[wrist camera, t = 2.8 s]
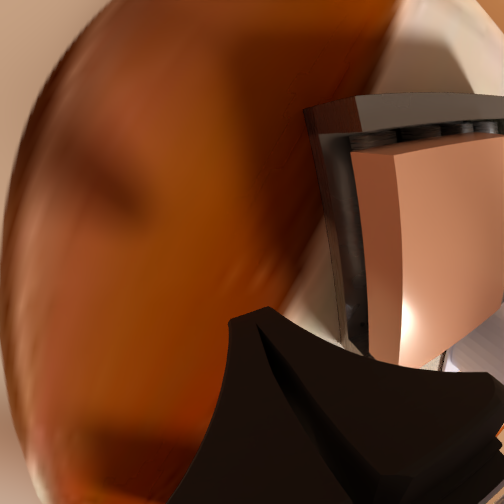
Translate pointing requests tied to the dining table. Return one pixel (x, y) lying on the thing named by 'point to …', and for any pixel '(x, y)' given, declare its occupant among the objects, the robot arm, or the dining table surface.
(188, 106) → the dining table surface
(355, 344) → the roller bed
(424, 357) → the slab
